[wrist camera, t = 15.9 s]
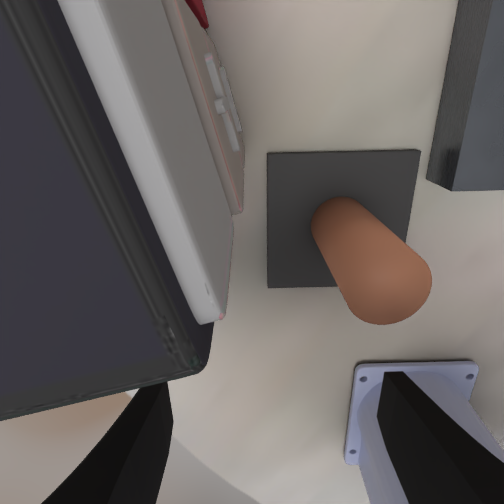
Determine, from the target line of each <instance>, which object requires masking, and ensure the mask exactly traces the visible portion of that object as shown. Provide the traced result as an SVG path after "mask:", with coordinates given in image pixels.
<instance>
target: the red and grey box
mask: <svg viewBox="0 0 504 504" xmlns="http://www.w3.org/2000/svg"><path fill="white" fill-rule="evenodd" d="M208 27H209V24H208V20H207V17H206V13H205V10H204V6H203V3H202V0H0V421H3V420H7V419H12V418H16V417H20V416H24V415H28V414H33V413H37V412H41V411H45V410H49V409H54V408H58V407H62V406H66V405H70V404H74V403H79V402H83V401H87V400H91V399H95V398H99V397H104V396H108V395H112V394H116V393H121V392H125V391H129V390H133V389H137V388H142V387H146V386H150V385H154V384H158V383H163V382H167V381H171V380H175V379H179V378H183V377H187V376H191V375H194V374H198V373H199V372H201V371H202V370H203V369H204V368H205V366H206V364H207V362H208V359H209V354H210V348H211V341H212V334H213V327H214V321H218V320H221V319H223V318H224V316H225V314H226V308H227V299H228V288H229V277H230V266H231V255H232V244H233V233H234V226H233V220H232V216H231V215H235V214H238V213H241V212H242V211H243V198H244V170H243V169H244V161H245V149H244V145H243V141H242V138H241V134H240V132H242V128H241V124H240V121H239V117H238V114H237V110H236V107H235V103H234V100H233V96H232V93H231V89H230V86H229V82H228V79H227V75H226V72H225V68H224V66H221V65H220V62H219V58H218V55H217V51H216V48H215V45H214V43H213V42H212V40H211V39H210V37H209V36H208V34H207V33H206V31H205V30H204V29H206V28H208Z"/></svg>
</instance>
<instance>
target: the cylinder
mask: <svg viewBox="0 0 504 504" xmlns="http://www.w3.org/2000/svg"><path fill="white" fill-rule="evenodd" d="M311 232H312V235H313V238H314V240H315V241H316V243H317V245H318V247H319V249H320V251H321V253H322V255H323V257H324V259H325V261H326V263H327V265H328V267H329V269H330V271H331V273H332V275H333V277H334V279H335V281H336V283H337V285H338V287H339V289H340V291H341V293H342V295H343V297H344V299H345V301H346V303H347V305H348V307H349V309H350V310H351V311H352V313H353V314H354V315H355V316H356V317H358V318H359V319H361V320H363V321H365V322H368V323H371V324H377V325H386V324H392V323H396V322H399V321H402V320H404V319H406V318H408V317H410V316H411V315H413V314H414V313H415V312H416V311H417V310H419V309H420V307H421V306H422V305H423V304H424V302H425V301H426V299H427V298H428V296H429V293H430V290H431V285H432V276H431V271H430V269H429V267H428V265H427V263H426V262H425V261H424V260H423V259H422V258H421V257H420V256H419V255H418V254H417V253H416V252H414V251H413V250H412V249H411V248H410V247H409V246H408V245H406V244H405V243H404V242H403V241H402V240H401V239H400V238H399V237H397V236H396V235H395V234H394V233H393V232H392V231H391V230H389V229H388V228H387V227H386V226H385V225H384V224H383V223H382V222H380V221H379V220H378V219H377V218H376V217H375V216H374V215H372V214H371V213H370V212H369V211H368V210H367V209H366V208H365V207H363V206H362V205H361V204H360V203H359V202H358V201H356V200H354V199H352V198H349V197H335V198H332V199H329V200H327V201H325V202H324V203H322V204H321V205H320V206H319V207H318V208H317V210H316V211H315V213H314V215H313V217H312V220H311Z"/></svg>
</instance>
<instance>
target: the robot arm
mask: <svg viewBox="0 0 504 504" xmlns="http://www.w3.org/2000/svg"><path fill="white" fill-rule="evenodd" d="M478 372H479V367H478V365H477V364H476V363H475V362H473V361H453V362H413V363H374V364H360V365H358V366H357V367H356V369H355V375H354V382H353V390H352V398H351V405H350V413H349V421H348V428H347V436H346V444H345V451H344V460H345V463H346V464H349V465H359V467H360V471H361V474H362V477H363V480H364V484H365V487H366V490H367V494H368V497H369V500H370V504H504V450H503V449H502V448H501V446H500V445H499V443H498V442H497V441H496V439H495V438H494V437H493V435H492V434H491V432H490V431H489V430H488V428H487V427H486V425H485V424H484V423H483V421H482V420H481V418H480V417H479V416H478V414H477V413H476V411H475V410H474V409H473V407H472V406H471V404H470V403H469V400H470V397H471V394H472V390H473V387H474V384H475V381H476V378H477V375H478ZM363 376H365V377H363ZM361 377H363V378H361ZM172 428H173V415H172V409H171V402H170V396H169V390H168V383H167V382H163V383H158V384H154V385H150V386H146V387H142V388H140V389H139V390H138V391H137V393H136V394H135V396H134V397H133V398H132V400H131V401H130V403H129V404H128V405H127V407H126V408H125V409H124V411H123V412H122V413H121V415H120V416H119V417H118V419H117V420H116V421H115V422H114V424H113V425H112V426H111V428H110V429H109V430H108V431H107V433H106V434H105V435H104V436H103V438H102V439H101V440H100V441H99V442H98V444H97V445H96V446H95V447H94V448H93V449H92V450H91V452H90V453H89V454H88V455H87V456H86V458H85V459H84V460H83V461H82V462H81V463H80V464H79V466H77V468H76V469H75V470H74V471H73V472H72V473H71V474H70V475H69V476H68V477H67V478H66V479H65V480H64V481H63V483H62V484H61V485H60V486H59V487H58V488H57V489H56V490H55V491H54V492H53V493H52V494H51V495H50V496H49V497H48V498H47V499H46V500H44V501H43V502H42V503H41V504H156V500H157V497H158V493H159V489H160V485H161V481H162V478H163V473H164V470H165V466H166V462H167V458H168V454H169V448H170V441H171V435H172Z"/></svg>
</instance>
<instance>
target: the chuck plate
mask: <svg viewBox="0 0 504 504" xmlns="http://www.w3.org/2000/svg"><path fill="white" fill-rule="evenodd" d="M426 179H427V180H429V181H431V182H433V183H436V184H438V185H440V186H442V187H444V188H446V189H448V190H450V191H486V190H504V0H459V4H458V9H457V15H456V20H455V25H454V31H453V36H452V42H451V47H450V53H449V58H448V63H447V69H446V74H445V80H444V85H443V90H442V96H441V101H440V107H439V112H438V118H437V123H436V128H435V134H434V139H433V145H432V150H431V155H430V161H429V166H428V172H427V177H426Z"/></svg>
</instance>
